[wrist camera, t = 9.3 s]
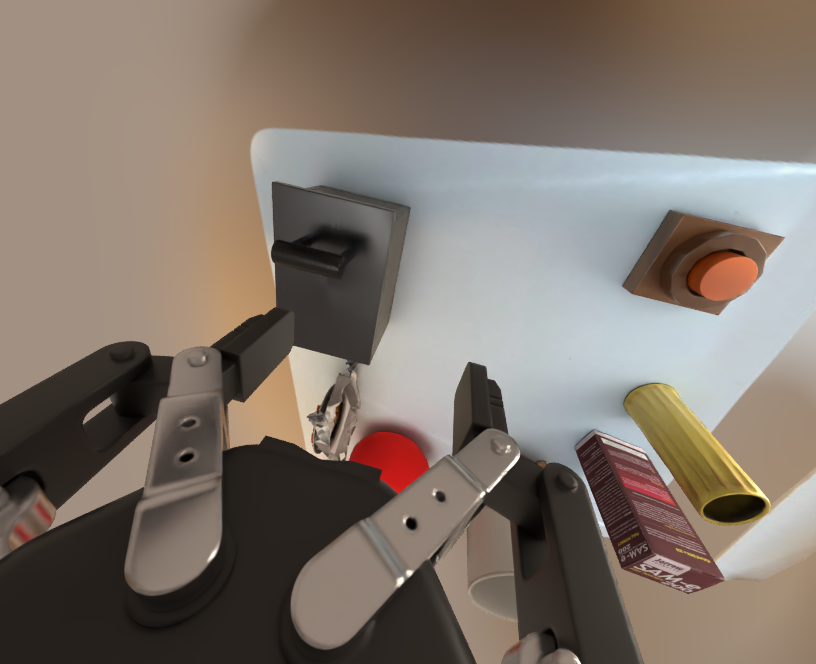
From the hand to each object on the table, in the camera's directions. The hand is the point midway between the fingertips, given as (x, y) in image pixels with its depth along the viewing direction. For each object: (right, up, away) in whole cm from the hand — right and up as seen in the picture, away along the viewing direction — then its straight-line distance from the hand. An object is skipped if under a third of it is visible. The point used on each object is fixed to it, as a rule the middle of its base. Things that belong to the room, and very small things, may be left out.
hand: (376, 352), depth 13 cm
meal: (-8, -8, +33) cm, 35 cm away
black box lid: (-6, +5, +15) cm, 17 cm away
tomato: (-1, -19, +38) cm, 43 cm away
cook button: (+29, +6, +14) cm, 33 cm away
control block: (+30, +8, +17) cm, 35 cm away
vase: (+33, -8, +26) cm, 43 cm away
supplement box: (+31, -16, +31) cm, 47 cm away
